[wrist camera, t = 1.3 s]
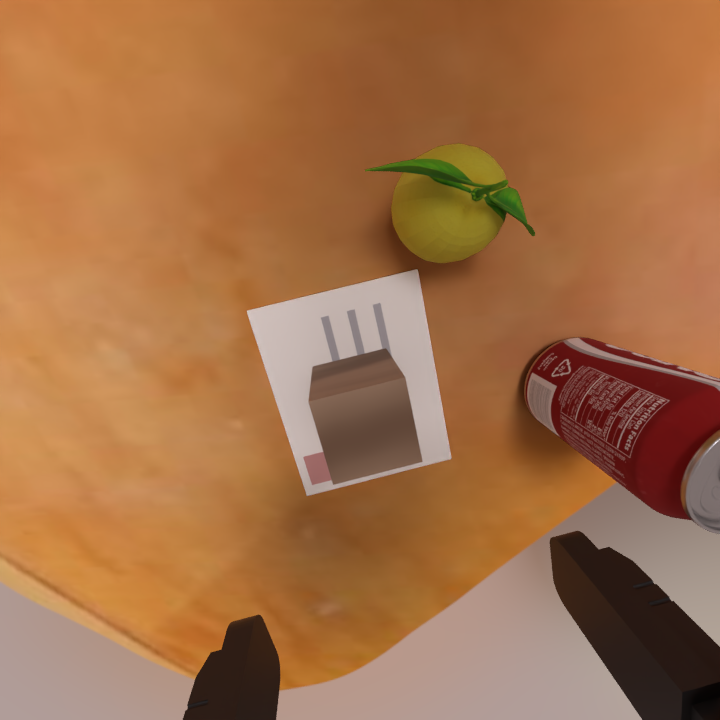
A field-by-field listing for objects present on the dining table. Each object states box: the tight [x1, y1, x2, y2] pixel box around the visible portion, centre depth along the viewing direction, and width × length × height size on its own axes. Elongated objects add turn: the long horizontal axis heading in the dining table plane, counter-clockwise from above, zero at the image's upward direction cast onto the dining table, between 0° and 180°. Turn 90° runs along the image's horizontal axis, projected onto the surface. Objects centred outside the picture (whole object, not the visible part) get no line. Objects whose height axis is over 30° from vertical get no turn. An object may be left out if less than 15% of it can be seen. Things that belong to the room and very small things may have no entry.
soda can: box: [524, 337, 720, 534], centre depth 20 cm, size 7×7×12 cm
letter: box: [247, 269, 452, 496], centre depth 25 cm, size 14×11×1 cm
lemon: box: [365, 143, 535, 263], centre depth 17 cm, size 7×6×10 cm
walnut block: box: [308, 348, 423, 485], centre depth 22 cm, size 5×5×6 cm
